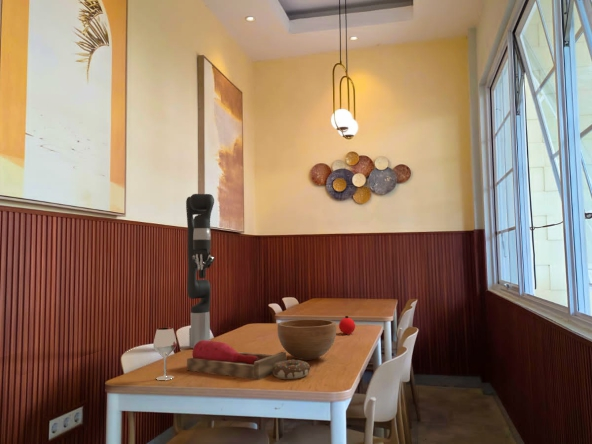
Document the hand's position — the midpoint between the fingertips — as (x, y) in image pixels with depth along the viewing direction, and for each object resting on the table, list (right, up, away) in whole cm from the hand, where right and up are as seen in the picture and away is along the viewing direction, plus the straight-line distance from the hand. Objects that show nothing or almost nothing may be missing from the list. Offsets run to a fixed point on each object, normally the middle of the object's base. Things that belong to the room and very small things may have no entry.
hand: (202, 278), depth 203 cm
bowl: (+46, -34, -7) cm, 58 cm away
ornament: (+70, -38, +54) cm, 96 cm away
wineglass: (-7, -33, -33) cm, 47 cm away
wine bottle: (+2, -28, -14) cm, 32 cm away
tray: (+17, -33, -22) cm, 43 cm away
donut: (+40, -32, -34) cm, 61 cm away
